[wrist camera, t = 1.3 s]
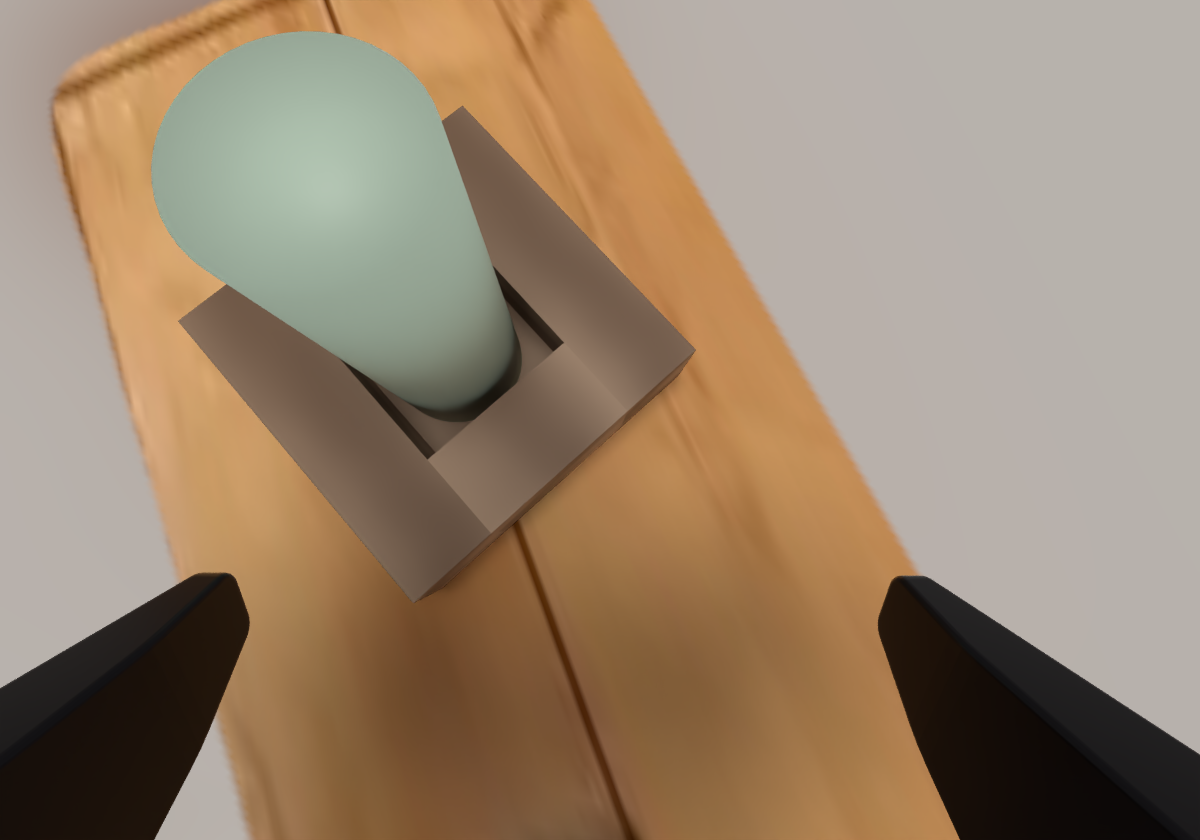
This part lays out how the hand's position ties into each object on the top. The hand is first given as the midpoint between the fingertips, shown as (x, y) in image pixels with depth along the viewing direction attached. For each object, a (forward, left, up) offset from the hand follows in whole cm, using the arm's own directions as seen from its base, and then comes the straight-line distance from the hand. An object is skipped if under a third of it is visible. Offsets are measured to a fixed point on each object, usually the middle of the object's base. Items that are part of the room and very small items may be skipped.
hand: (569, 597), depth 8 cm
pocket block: (+1, +8, -14) cm, 16 cm away
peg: (+1, +8, -13) cm, 16 cm away
